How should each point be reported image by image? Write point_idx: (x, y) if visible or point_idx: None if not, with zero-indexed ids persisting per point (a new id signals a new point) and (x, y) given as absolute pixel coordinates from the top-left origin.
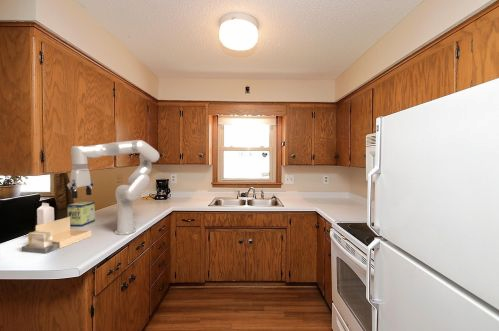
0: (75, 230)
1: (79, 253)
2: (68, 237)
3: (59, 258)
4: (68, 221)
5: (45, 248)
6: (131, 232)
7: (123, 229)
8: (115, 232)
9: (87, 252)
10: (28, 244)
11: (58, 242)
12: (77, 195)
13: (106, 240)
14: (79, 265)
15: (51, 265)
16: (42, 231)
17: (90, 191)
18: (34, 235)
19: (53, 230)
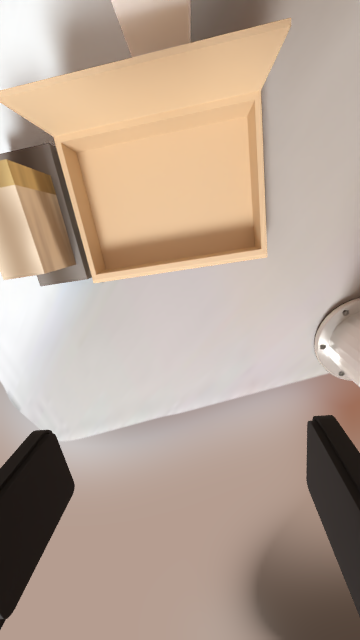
0: (255, 149)
1: (112, 374)
2: (215, 150)
3: (61, 356)
4: (262, 57)
5: (42, 284)
6: (344, 378)
7: (338, 364)
8: (324, 325)
9: (128, 388)
10: (21, 150)
11: (92, 276)
12: (57, 523)
13: (239, 351)
14: (64, 438)
15: (27, 381)
16: (18, 214)
17: (341, 554)
18: None
19: (141, 104)
